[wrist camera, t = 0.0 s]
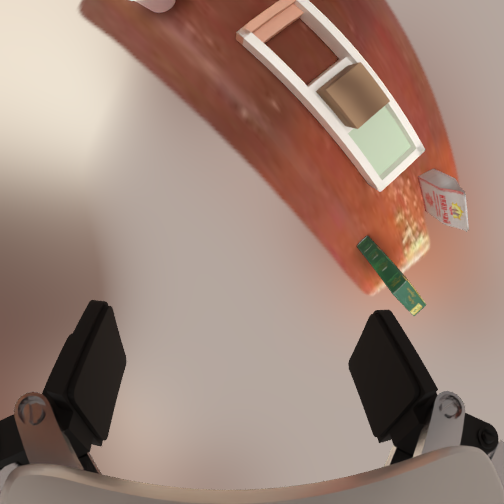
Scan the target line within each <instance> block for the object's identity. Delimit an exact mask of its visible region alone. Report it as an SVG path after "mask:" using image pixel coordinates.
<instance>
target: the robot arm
mask: <svg viewBox="0 0 504 504" xmlns="http://www.w3.org/2000/svg"><path fill="white" fill-rule="evenodd" d="M125 366H126V355H125V352H124V349H123V345H122V342H121V339H120V335H119V331H118V328H117V324H116V320H115V317H114V312H113V309H112V307H111V306H108V303H107V302H105V301H96V300H91V301H90V302H89V304H88V306H87V308H86V309H85V311H84V313H83V315H82V317H81V319H80V320H79V322H78V325H77V326H76V328H75V330H74V332H73V334H71V335H69V337H68V338H67V340H66V342H65V344H64V346H63V348H62V350H61V352H60V354H59V357H58V359H57V361H56V363H55V365H54V367H53V369H52V372H51V374H50V376H49V379H48V381H47V383H46V386H45V388H44V390H43V393H42V394H40V393H38V392H29V393H26V394H24V395H22V396H21V397H20V398H19V399H18V400H17V402H16V404H15V407H14V415H12V416H9V417H7V418H5V419H3V420H1V421H0V504H504V442H503V441H502V440H500V441H498V434H497V431H496V430H495V428H494V427H493V426H492V425H490V424H489V423H486V422H484V421H482V420H480V419H478V418H475V417H473V416H471V415H469V414H467V413H465V406H464V403H463V401H462V400H461V398H460V397H459V396H458V395H457V394H455V393H453V392H449V391H444V392H442V393H440V394H439V395H437V393H436V391H437V390H438V389H437V387H436V385H435V383H434V381H433V380H432V378H431V376H430V374H429V372H428V371H427V369H426V367H425V366H424V364H423V362H422V360H421V359H420V357H419V355H418V354H417V352H416V350H415V349H414V347H413V345H412V344H411V342H410V340H409V339H408V337H407V335H406V334H405V332H404V331H403V329H402V327H401V326H400V324H399V323H398V321H397V320H396V318H395V316H394V315H393V313H392V312H391V311H390V310H376V311H375V312H374V313H373V314H371V315H370V317H369V319H368V321H367V323H366V326H365V328H364V330H363V332H362V335H361V337H360V339H359V341H358V343H357V345H356V347H355V350H354V352H353V354H352V356H351V358H350V360H349V370H350V372H351V375H352V378H353V380H354V383H355V385H356V388H357V391H358V394H359V396H360V399H361V402H362V404H363V407H364V410H365V413H366V415H367V418H368V421H369V424H370V427H371V430H372V432H373V435H374V436H375V437H377V438H378V441H379V443H381V442H384V441H388V440H391V439H392V441H393V446H392V449H391V451H390V454H389V456H388V458H387V461H386V463H385V466H384V467H382V468H379V469H375V470H372V471H368V472H364V473H360V474H356V475H353V476H348V477H344V478H339V479H334V480H329V481H323V482H318V483H311V484H305V485H298V486H289V487H280V488H268V489H250V490H209V489H208V490H207V489H191V488H179V487H170V486H161V485H154V484H148V483H141V482H135V481H129V480H124V479H119V478H115V477H110V476H105V475H102V473H101V472H100V470H99V469H98V467H97V465H96V463H95V462H94V460H93V458H92V457H91V455H90V453H89V452H90V448H91V444H93V445H97V446H102V441H103V440H106V439H107V437H108V432H109V429H110V424H111V420H112V415H113V411H114V407H115V403H116V399H117V395H118V391H119V388H120V384H121V380H122V377H123V373H124V370H125Z"/></svg>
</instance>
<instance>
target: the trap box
mask: <svg viewBox="0 0 504 504" xmlns="http://www.w3.org/2000/svg"><path fill="white" fill-rule="evenodd" d="M299 18H300V19H301V20H302V21H303V22H304V23H305V24H306V25H307V26H308V27H309V28H310V29H311V30H313V31H314V32H315V33H316V34H317V36H318V37H319V38H320V39H321V40H322V41H323V42H324V43H325V44H326V45H327V46H328V47H329V48H330V49H331V50H332V51H333V52H334V53H335V55H336V56H337V57H338V58H339V60H338V61H337V62H335V63H334V64H333V65H332V66H330V67H329V68H328V69H327V70H325V71H324V72H323V73H321V74H320V75H319V76H318V77H317V78H315V79H314V80H313V81H312V82H310V83H309V84H308V85H306V84H305V83H304V82H303V81H302V80H301V79H300V78H299V77H298V76H297V75H296V74H295V73H294V72H293V71H292V70H291V69H290V68H289V67H288V66H287V65H286V64H285V63H284V62H283V61H282V60H281V59H280V58H279V57H278V56H277V55H276V54H275V53H274V52H273V51H272V50H271V49H270V48H268V47H267V46H266V45H265V43H266V42H268V41H269V40H270V39H271V38H273V37H274V36H275V35H277V34H278V33H279V32H281V31H282V30H283V29H285V28H286V27H287V26H289V25H290V24H292V23H293V22H294V21H296V20H297V19H299ZM236 40H237V41H238V42H239V43H240V44H242V45H243V46H244V47H245V48H246V49H247V50H248V51H250V52H251V53H252V54H253V55H254V56H255V57H256V58H257V59H258V60H259V61H261V62H262V63H263V64H264V65H265V66H266V67H267V68H268V69H269V70H270V71H271V72H272V73H273V74H274V75H275V76H276V77H277V78H278V79H279V80H280V81H281V82H282V83H283V84H284V85H285V86H286V87H287V88H288V89H289V90H290V91H291V92H292V93H293V94H294V95H295V96H296V97H297V98H298V99H299V100H300V101H301V103H302V104H303V105H304V106H305V107H306V108H307V109H308V110H309V111H310V112H311V114H312V115H313V116H314V117H315V118H316V119H317V120H318V121H319V123H320V124H321V125H322V126H323V127H324V128H325V130H326V131H327V132H328V133H329V134H330V135H331V137H332V138H333V139H334V140H335V142H336V143H337V144H338V145H339V146H340V148H341V149H342V150H343V151H344V153H345V154H346V155H347V157H348V158H349V159H350V160H351V162H352V163H353V164H354V166H355V167H356V168H357V170H358V171H359V172H360V174H361V175H362V176H363V178H364V179H365V180H366V182H367V183H368V184H369V185H370V186H372V187H373V188H375V189H376V190H378V191H379V192H381V191H382V190H383V189H384V188H385V187H387V186H388V185H389V184H390V183H391V182H392V181H393V180H394V179H395V178H396V177H397V176H398V175H400V174H401V173H402V172H403V171H404V170H405V169H406V168H407V167H408V166H409V165H410V164H411V163H412V162H413V161H415V160H416V159H417V158H418V157H419V156H420V155H421V154H422V153H423V152H424V151H425V148H424V147H423V145H422V143H421V141H420V140H419V138H418V136H417V134H416V133H415V131H414V129H413V128H412V126H411V124H410V123H409V121H408V119H407V118H406V116H405V115H404V113H403V112H402V110H401V108H400V107H399V105H398V104H397V102H396V101H395V100H394V98H393V97H392V95H391V94H390V92H389V91H388V89H387V88H386V87H385V85H384V84H383V83H382V81H381V80H380V79H379V77H378V76H377V75H376V73H375V72H374V71H373V69H372V68H371V67H370V66H369V64H368V63H367V62H366V61H365V59H364V58H363V57H362V56H361V55H360V53H359V52H358V51H357V50H356V49H355V47H354V46H353V45H352V44H351V43H350V42H349V41H348V40H347V38H346V37H345V36H344V35H343V34H342V33H341V32H340V31H339V30H338V29H337V28H336V27H335V26H334V25H333V24H332V23H331V21H330V20H329V19H328V18H327V17H326V16H325V15H323V14H322V13H321V12H320V11H319V10H318V9H317V8H316V7H315V6H314V5H313V4H312V3H311V2H310V1H309V0H279V1H278V2H276V3H275V4H273V5H272V6H271V7H269V8H268V9H266V10H265V11H264V12H262V13H261V14H259V15H258V16H257V17H255V18H254V19H253V20H251V21H250V22H249V23H247V24H246V25H245V26H244V27H242V28H241V29H240V30H238V31H237V33H236ZM359 62H361V63H362V64H363V65H364V67H365V68H366V69H367V70H368V72H369V73H370V74H371V76H372V77H373V78H374V79H375V81H376V82H377V83H378V85H379V86H380V88H381V89H382V90H383V92H384V93H385V94H386V96H387V97H388V99H389V100H390V102H389V103H387V104H386V105H385V106H384V107H383V108H382V109H380V110H379V111H378V112H377V113H376V114H375V115H374V116H372V117H371V118H370V119H369V120H368V121H367V122H365V123H364V124H363V125H362V126H361V127H360V128H359V129H355V128H351V127H347V126H345V125H344V124H343V123H342V122H341V120H340V119H339V118H338V117H337V115H336V114H335V113H334V112H333V111H332V109H331V108H330V107H329V106H328V105H327V104H326V102H325V101H324V100H323V99H322V98H321V97H320V96H319V94H318V93H317V92H316V91H317V90H318V89H319V88H320V87H321V86H323V85H324V84H325V83H326V82H328V81H329V80H330V79H331V78H333V77H334V76H335V75H336V74H338V73H339V72H340V71H341V70H343V69H344V68H345V67H346V66H348V65H351V64H355V63H359Z"/></svg>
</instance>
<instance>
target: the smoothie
mask: <svg viewBox="0 0 504 504" xmlns="http://www.w3.org/2000/svg"><path fill="white" fill-rule="evenodd" d="M130 1H135V2H137V3H139V4H141V5H143V6H144V7H146V8H148V9H150V10H151V11H153V12H156V13H162V12H165V11H168V10H169V9H171V8H172V7H173V5H174V4H175V0H130Z"/></svg>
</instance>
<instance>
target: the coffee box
mask: <svg viewBox="0 0 504 504" xmlns="http://www.w3.org/2000/svg"><path fill="white" fill-rule="evenodd" d="M357 248H358V249H359V250H360V251H361V252H362V254H363V255H364V256H365V258H366V259H367V260H368V262H369V263H370V264H371V265H372V267H373V268H374V269H375V271H376V272H377V273H378V275H379V276H380V277H381V279H382V280H383V281H384V283H385V284H386V286H387V287H388V288H389V290H390V291H391V293H392V294H393V295H394V296H395V297H396V298H397V299H398V300H399V301H400V302H401V303H402V304H403V305H404V306H405V308H406V309H407V310H408V311H409V312H410V313H411V314H412V315H413V316H415V315H416V314H417V313H418V312H419V311H420V310H421V309H423V308H424V306H426V303H425V302H424V301H423V299H422V298H421V296H420V295H419V294H418V292H417V291H416V290H415V288H414V287H413V286H412V284H411V283H410V282H409V281H408V279H407V278H406V277H405V276H404V275H403V273H402V272H401V271H400V270H399V269H398V268H397V267H396V265H395V264H394V263H393V262H392V261H391V260H390V259H389V258H388V257H387V255H386V254H385V253H384V252H383V251H382V250H381V249H380V248H379V247H378V246H377V245H376V244H375V243H374V241H373V240H372V239H371V238H370V237H369V236H366V237H365V238H364V239H363V240H362V241H361V242H360V243H359V244H358V245H357Z"/></svg>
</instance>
